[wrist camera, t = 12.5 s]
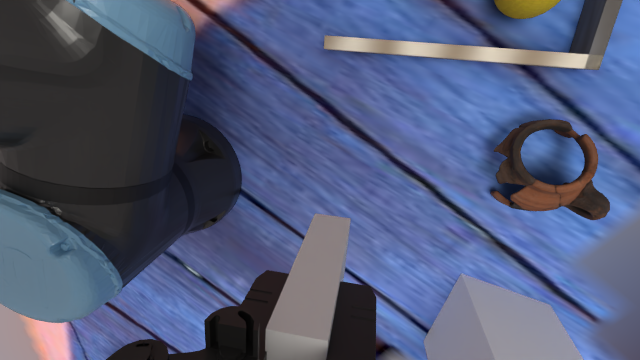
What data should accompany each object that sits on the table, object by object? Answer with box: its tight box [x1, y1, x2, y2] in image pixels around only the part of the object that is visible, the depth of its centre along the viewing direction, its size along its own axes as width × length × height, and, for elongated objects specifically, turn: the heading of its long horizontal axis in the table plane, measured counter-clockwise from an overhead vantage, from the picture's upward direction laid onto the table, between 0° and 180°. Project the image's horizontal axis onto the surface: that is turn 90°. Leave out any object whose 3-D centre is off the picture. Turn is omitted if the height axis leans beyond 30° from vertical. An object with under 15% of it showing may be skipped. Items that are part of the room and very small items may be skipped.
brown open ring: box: [491, 119, 610, 220], centre depth 35 cm, size 12×10×8 cm
